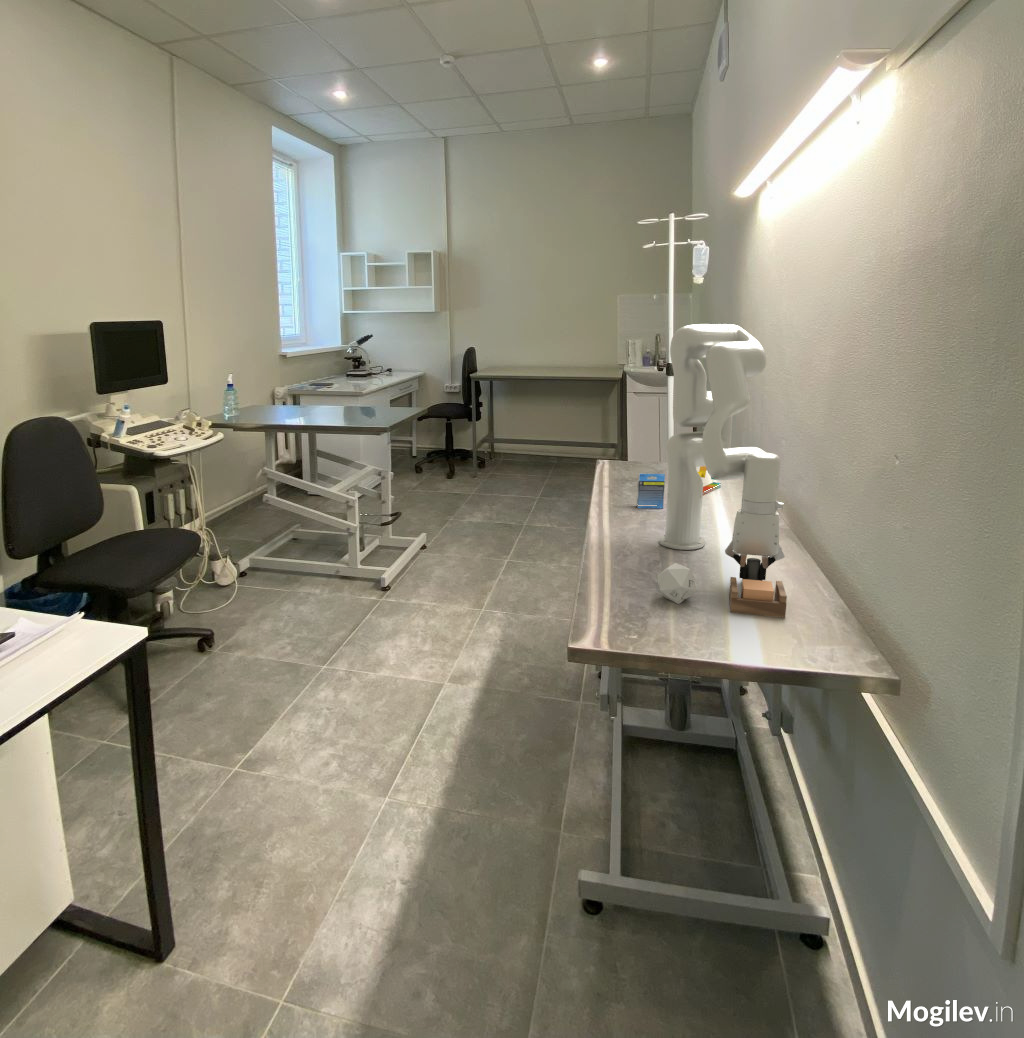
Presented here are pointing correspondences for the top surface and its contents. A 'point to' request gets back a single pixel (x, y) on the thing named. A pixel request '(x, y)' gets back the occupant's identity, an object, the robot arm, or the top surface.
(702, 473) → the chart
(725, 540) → the top surface
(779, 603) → the shelf lane
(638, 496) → the label tape box
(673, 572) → the die
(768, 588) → the block
